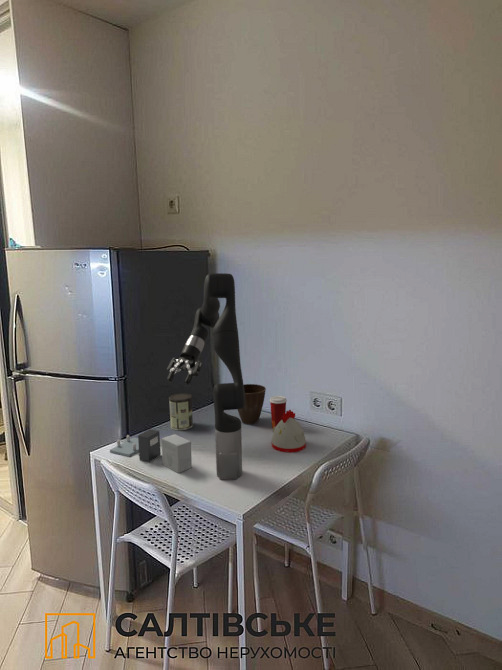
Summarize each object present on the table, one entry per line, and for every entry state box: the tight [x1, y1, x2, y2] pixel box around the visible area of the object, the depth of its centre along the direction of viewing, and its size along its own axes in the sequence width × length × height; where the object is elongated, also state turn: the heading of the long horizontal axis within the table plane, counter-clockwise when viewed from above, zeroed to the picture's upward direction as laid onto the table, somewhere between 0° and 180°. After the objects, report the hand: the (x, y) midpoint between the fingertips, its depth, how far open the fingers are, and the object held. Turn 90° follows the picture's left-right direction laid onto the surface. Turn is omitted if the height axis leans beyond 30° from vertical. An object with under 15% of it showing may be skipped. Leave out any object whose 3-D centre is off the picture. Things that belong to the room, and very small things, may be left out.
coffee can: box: [168, 392, 194, 431], centre depth 212 cm, size 10×10×14 cm
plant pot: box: [237, 383, 267, 425], centre depth 216 cm, size 15×15×16 cm
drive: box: [137, 428, 162, 463], centre depth 180 cm, size 7×5×10 cm
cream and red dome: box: [271, 409, 307, 453], centre depth 189 cm, size 14×14×15 cm
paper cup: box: [269, 395, 288, 429], centre depth 208 cm, size 8×8×14 cm
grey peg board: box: [109, 434, 139, 458], centre depth 190 cm, size 14×10×4 cm
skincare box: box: [161, 433, 193, 474], centre depth 173 cm, size 10×6×10 cm, turn 44°
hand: (177, 382), depth 188 cm, fingers open, 8 cm apart
